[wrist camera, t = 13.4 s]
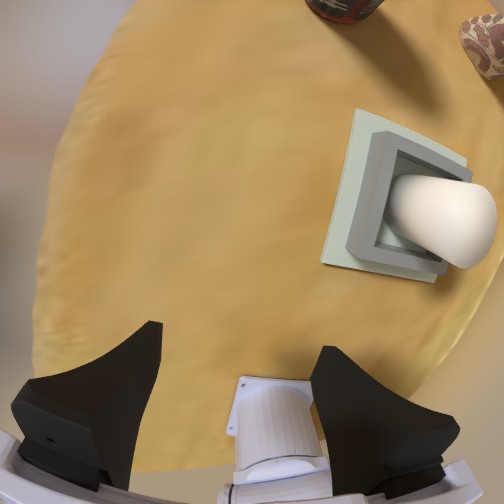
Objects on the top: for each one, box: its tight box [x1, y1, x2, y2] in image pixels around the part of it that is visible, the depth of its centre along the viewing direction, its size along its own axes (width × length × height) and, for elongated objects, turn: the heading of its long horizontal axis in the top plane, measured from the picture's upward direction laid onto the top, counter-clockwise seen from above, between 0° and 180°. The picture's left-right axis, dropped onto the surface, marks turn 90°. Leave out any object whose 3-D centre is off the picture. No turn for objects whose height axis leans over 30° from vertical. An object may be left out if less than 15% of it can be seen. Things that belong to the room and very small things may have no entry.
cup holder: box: [320, 108, 473, 283], centre depth 20 cm, size 12×12×3 cm
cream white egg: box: [383, 173, 497, 269], centre depth 17 cm, size 5×5×8 cm
